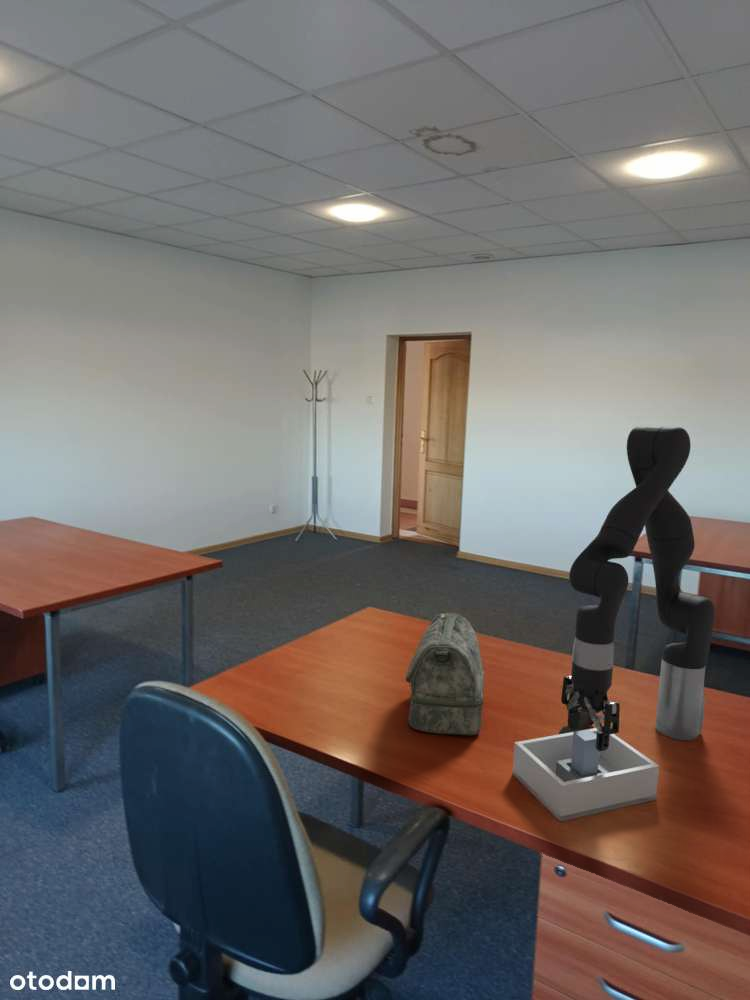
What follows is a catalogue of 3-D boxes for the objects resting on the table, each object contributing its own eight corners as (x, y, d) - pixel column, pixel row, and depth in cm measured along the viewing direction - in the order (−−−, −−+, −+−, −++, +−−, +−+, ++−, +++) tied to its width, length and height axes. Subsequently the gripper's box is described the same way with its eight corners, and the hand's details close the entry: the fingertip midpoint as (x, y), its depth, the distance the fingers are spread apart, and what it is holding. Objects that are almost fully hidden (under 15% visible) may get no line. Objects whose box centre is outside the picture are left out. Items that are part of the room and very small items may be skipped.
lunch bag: (416, 685, 174) (419, 606, 170) (484, 693, 170) (489, 613, 167) (400, 732, 148) (403, 641, 145) (480, 743, 145) (485, 649, 142)
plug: (584, 775, 131) (588, 729, 130) (596, 785, 128) (600, 737, 126) (569, 778, 130) (573, 731, 128) (581, 788, 126) (585, 740, 125)
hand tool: (577, 721, 157) (578, 702, 156) (594, 726, 154) (595, 707, 154) (546, 752, 142) (547, 733, 141) (563, 759, 139) (564, 738, 139)
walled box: (600, 757, 140) (603, 726, 139) (655, 799, 125) (659, 765, 124) (512, 774, 133) (514, 742, 132) (560, 821, 118) (562, 786, 117)
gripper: (634, 672, 120) (627, 754, 122) (584, 645, 133) (579, 719, 135) (601, 678, 117) (595, 761, 120) (553, 649, 130) (549, 724, 133)
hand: (586, 738), depth 128 cm, fingers open, 8 cm apart
